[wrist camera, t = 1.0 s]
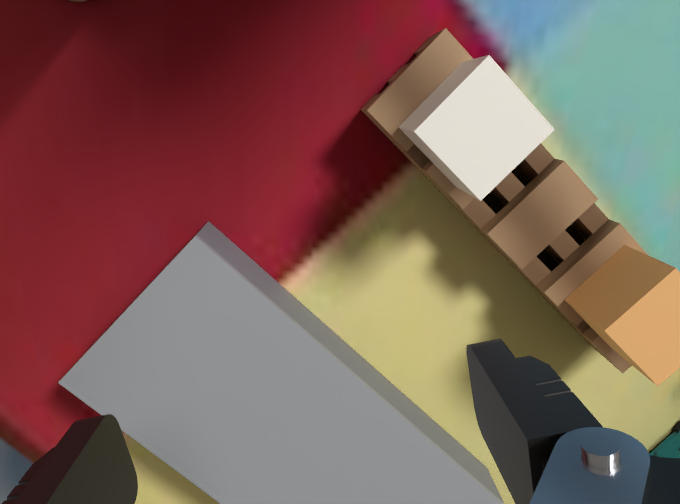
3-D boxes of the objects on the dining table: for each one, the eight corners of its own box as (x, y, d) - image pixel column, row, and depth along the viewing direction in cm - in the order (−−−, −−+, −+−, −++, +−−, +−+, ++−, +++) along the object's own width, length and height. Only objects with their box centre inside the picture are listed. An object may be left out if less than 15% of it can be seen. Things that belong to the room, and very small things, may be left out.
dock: (208, 221, 33) (195, 236, 30) (487, 467, 39) (506, 507, 35) (85, 352, 35) (58, 382, 31) (368, 570, 41) (374, 618, 37)
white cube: (461, 62, 28) (489, 54, 24) (518, 125, 29) (554, 129, 25) (398, 127, 29) (413, 131, 24) (455, 186, 30) (480, 201, 25)
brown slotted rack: (427, 38, 32) (445, 28, 27) (652, 286, 36) (696, 309, 32) (359, 109, 33) (367, 110, 28) (587, 342, 37) (622, 373, 33)
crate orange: (624, 244, 31) (676, 268, 27) (671, 296, 32) (727, 326, 28) (564, 299, 32) (604, 330, 27) (611, 348, 33) (657, 386, 28)
